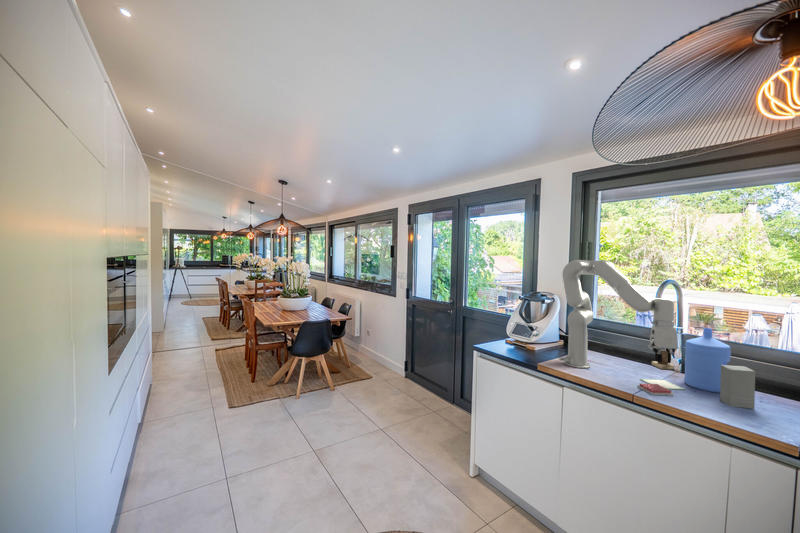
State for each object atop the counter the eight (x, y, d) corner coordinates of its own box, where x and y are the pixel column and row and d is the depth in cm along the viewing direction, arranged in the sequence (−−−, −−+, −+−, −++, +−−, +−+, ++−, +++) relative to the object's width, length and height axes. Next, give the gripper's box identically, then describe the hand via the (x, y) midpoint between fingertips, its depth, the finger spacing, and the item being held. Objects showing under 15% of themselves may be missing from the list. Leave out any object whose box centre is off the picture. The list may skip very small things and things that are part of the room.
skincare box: (743, 403, 133) (744, 365, 133) (756, 410, 126) (757, 371, 126) (718, 400, 136) (719, 363, 136) (729, 406, 129) (730, 368, 129)
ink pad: (652, 395, 139) (652, 390, 139) (637, 387, 148) (637, 383, 148) (673, 395, 139) (673, 391, 139) (657, 387, 148) (657, 383, 148)
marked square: (658, 389, 146) (658, 388, 146) (639, 379, 158) (639, 378, 158) (685, 389, 146) (685, 389, 146) (664, 380, 158) (664, 379, 158)
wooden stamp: (661, 369, 149) (661, 352, 149) (651, 365, 155) (652, 349, 155) (674, 370, 149) (674, 353, 149) (664, 366, 155) (664, 349, 155)
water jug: (694, 390, 146) (696, 330, 146) (677, 379, 161) (679, 324, 161) (738, 395, 141) (740, 333, 140) (717, 383, 155) (718, 327, 155)
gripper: (651, 324, 149) (651, 363, 149) (687, 325, 148) (687, 364, 148) (640, 322, 156) (639, 359, 156) (674, 322, 156) (674, 360, 156)
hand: (662, 361), depth 152 cm, fingers closed on wooden stamp, 3 cm apart
